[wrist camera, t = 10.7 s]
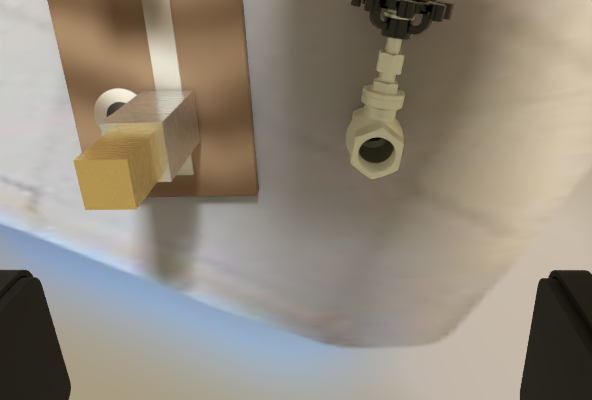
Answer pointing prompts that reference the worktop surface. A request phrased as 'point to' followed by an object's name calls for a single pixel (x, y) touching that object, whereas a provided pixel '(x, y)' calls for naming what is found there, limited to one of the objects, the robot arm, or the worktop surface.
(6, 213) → the worktop surface
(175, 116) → the block
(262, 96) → the worktop surface
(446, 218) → the worktop surface
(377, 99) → the valve
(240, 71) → the bolt plate
